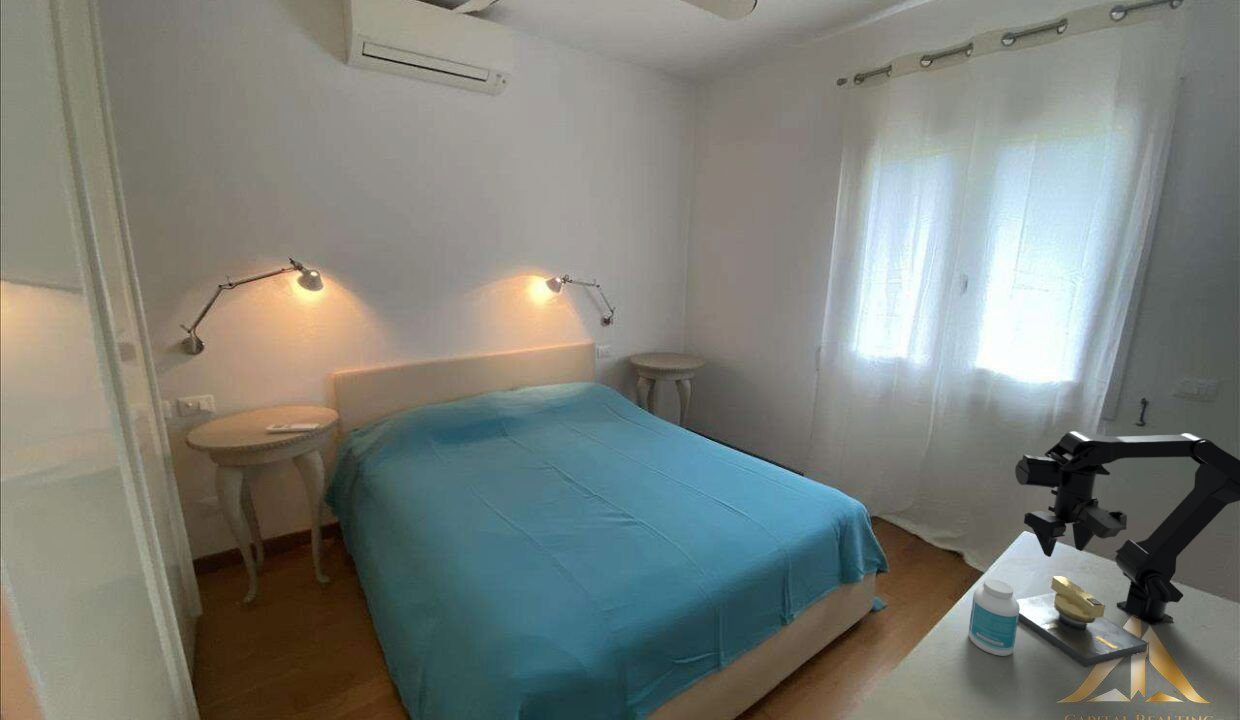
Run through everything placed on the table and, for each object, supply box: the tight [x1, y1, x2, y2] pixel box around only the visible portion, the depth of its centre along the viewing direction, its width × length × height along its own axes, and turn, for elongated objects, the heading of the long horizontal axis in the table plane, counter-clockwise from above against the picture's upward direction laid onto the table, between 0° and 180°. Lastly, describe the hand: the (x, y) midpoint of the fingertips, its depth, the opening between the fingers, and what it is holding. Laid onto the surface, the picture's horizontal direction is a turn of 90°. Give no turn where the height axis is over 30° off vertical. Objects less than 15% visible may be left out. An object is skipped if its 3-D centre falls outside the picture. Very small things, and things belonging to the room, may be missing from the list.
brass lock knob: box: [1050, 576, 1106, 623], centre depth 100 cm, size 9×6×5 cm
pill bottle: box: [968, 577, 1020, 657], centre depth 97 cm, size 8×7×14 cm
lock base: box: [1016, 591, 1149, 668], centre depth 101 cm, size 16×16×4 cm
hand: (1063, 552), depth 108 cm, fingers open, 9 cm apart
